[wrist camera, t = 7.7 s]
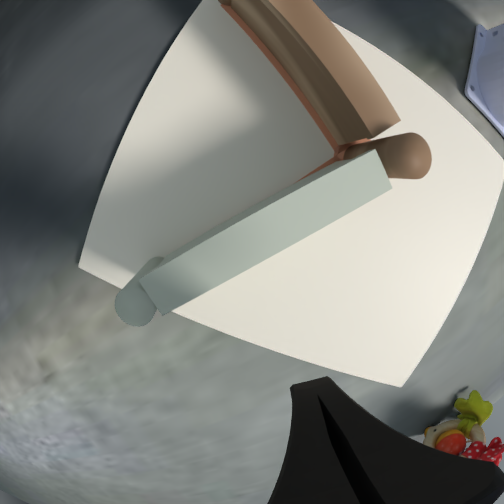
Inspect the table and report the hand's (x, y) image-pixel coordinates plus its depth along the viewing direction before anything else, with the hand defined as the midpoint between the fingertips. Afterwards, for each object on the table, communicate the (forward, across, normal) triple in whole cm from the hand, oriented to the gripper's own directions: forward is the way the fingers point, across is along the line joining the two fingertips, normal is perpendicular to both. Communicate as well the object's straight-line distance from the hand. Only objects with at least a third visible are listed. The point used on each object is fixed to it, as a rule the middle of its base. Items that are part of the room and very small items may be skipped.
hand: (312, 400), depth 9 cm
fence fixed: (+9, -4, -14) cm, 17 cm away
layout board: (+9, -5, -6) cm, 12 cm away
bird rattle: (+10, -16, +19) cm, 27 cm away
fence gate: (+9, +1, -5) cm, 10 cm away
